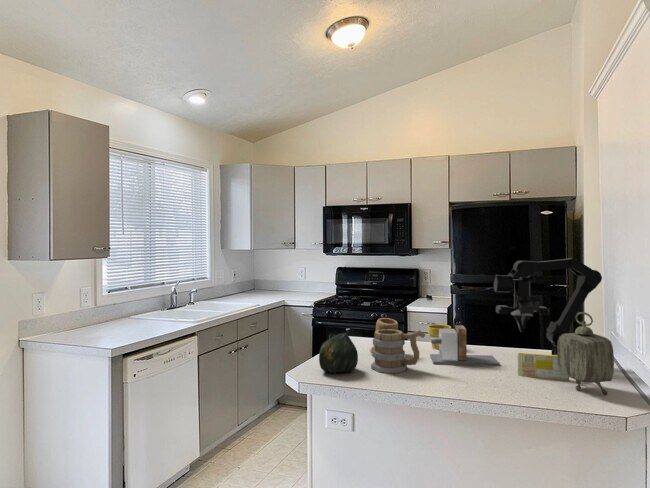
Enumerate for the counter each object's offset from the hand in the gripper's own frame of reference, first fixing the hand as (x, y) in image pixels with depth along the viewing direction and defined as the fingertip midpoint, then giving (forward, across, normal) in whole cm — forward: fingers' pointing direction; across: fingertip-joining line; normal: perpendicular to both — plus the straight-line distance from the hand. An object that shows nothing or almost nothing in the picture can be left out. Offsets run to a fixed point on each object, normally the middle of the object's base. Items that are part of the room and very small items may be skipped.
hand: (521, 332), depth 177 cm
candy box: (+12, +2, -19) cm, 23 cm away
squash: (+14, -70, -20) cm, 74 cm away
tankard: (+13, -48, -15) cm, 52 cm away
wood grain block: (+11, -28, 0) cm, 30 cm away
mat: (+12, -23, 0) cm, 26 cm away
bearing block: (+11, -28, 0) cm, 30 cm away
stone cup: (+13, -54, +9) cm, 56 cm away
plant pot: (+13, -29, +21) cm, 38 cm away
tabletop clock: (+12, +10, -32) cm, 36 cm away
